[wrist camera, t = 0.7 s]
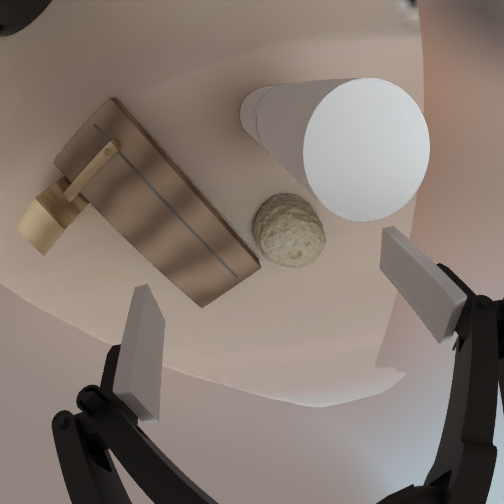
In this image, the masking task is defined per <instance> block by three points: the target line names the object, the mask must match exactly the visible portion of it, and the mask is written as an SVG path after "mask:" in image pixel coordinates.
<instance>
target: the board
mask: <svg viewBox="0 0 504 504" xmlns="http://www.w3.org/2000/svg"><path fill="white" fill-rule="evenodd" d="M113 139H114V140H115V141H116V142H117V143H118V144H119V145H120V147H121V149H120V150H119V151H118V152H117V153H116V154H115V155H114V156H113V157H112V158H111V159H110V160H109V161H108V162H107V163H106V164H105V165H104V166H103V167H102V168H101V169H100V170H99V171H98V172H97V173H96V174H95V176H94V177H93V178H92V179H91V180H90V181H89V182H88V183H87V184H86V185H85V187H84V188H83V189H82V190H81V191H80V193H81V194H82V195H83V196H84V197H85V198H86V199H87V200H88V201H89V202H90V203H91V204H92V205H93V206H94V207H95V208H96V210H97V211H98V212H99V213H100V214H101V215H102V216H103V217H104V218H105V219H106V220H107V221H108V222H109V223H110V224H111V225H112V226H113V227H114V228H115V229H116V230H117V231H118V232H119V233H120V234H121V235H122V236H123V237H124V238H125V239H126V240H127V241H128V242H129V243H130V244H132V245H133V246H134V247H135V248H136V249H137V250H138V251H139V252H140V253H141V254H142V255H143V256H144V257H145V258H146V259H147V260H148V261H149V262H150V263H152V264H153V265H154V266H155V267H156V268H157V269H158V270H159V271H160V272H161V273H162V274H163V275H165V276H166V277H167V278H168V279H169V280H170V281H171V282H172V283H173V284H175V285H176V286H177V287H178V288H179V289H180V290H181V291H182V292H184V293H185V294H186V295H187V296H188V297H189V298H190V299H192V300H193V301H194V302H195V303H196V304H197V305H199V306H200V307H201V308H203V307H205V306H206V305H208V304H209V303H211V302H212V301H214V300H215V299H217V298H218V297H220V296H221V295H222V294H224V293H225V292H227V291H228V290H230V289H231V288H233V287H234V286H236V285H237V284H239V283H240V282H241V281H243V280H244V279H246V278H247V277H249V276H250V275H252V274H253V273H255V272H256V271H257V270H259V269H260V268H261V266H260V263H259V260H258V258H257V257H256V256H255V255H254V253H253V252H252V251H251V250H250V249H249V248H248V247H247V245H246V244H245V243H244V242H243V241H242V240H241V239H240V238H239V236H238V235H237V234H236V233H235V232H234V231H233V230H232V228H231V227H230V226H229V225H228V224H227V223H226V222H225V221H224V219H223V218H222V217H221V216H220V215H219V214H218V213H217V211H216V210H215V209H214V208H213V207H212V206H211V205H210V204H209V202H208V201H207V200H206V199H205V198H204V197H203V196H202V194H201V193H200V192H199V191H198V190H197V189H196V188H195V187H194V185H193V184H192V183H191V182H190V181H189V180H188V179H187V177H186V176H185V175H184V174H183V173H182V172H181V171H180V170H179V168H178V167H177V166H176V165H175V164H174V163H173V162H172V161H171V159H170V158H169V157H168V156H167V155H166V154H165V153H164V151H163V150H162V149H161V148H160V147H159V146H158V145H157V144H156V142H155V141H154V140H153V139H152V138H151V137H150V136H149V134H148V133H147V132H146V131H145V130H144V129H143V128H142V127H141V125H140V124H139V123H138V122H137V121H136V120H135V119H134V117H133V116H132V115H131V114H130V113H129V112H128V111H127V110H126V108H125V107H124V106H123V105H122V104H121V103H120V102H119V100H118V99H117V98H110V99H109V100H107V101H106V102H105V103H104V104H103V105H102V106H101V108H100V109H99V110H98V111H97V112H96V113H95V114H94V115H93V116H92V117H91V118H90V119H89V120H88V121H87V122H86V123H85V124H84V126H83V127H82V128H81V129H80V130H79V131H78V132H77V133H76V135H75V136H74V137H73V138H72V139H71V140H70V142H69V143H68V144H67V145H66V146H65V147H64V149H63V150H62V151H61V152H60V154H59V155H58V156H57V157H56V159H55V160H54V161H53V163H54V164H55V165H56V166H57V167H58V169H59V170H60V171H61V172H62V173H63V174H64V175H65V176H66V177H67V179H68V180H69V181H70V182H71V183H73V181H74V180H75V179H76V178H77V177H78V175H79V174H80V173H81V172H82V171H83V170H84V169H85V168H86V166H87V165H88V164H89V163H90V162H91V161H92V160H93V159H94V158H95V157H96V155H97V154H98V153H99V152H100V151H101V150H102V149H103V148H104V147H105V146H106V145H107V144H108V143H109V142H110V141H111V140H113Z"/></svg>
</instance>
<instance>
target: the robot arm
mask: <svg viewBox="0 0 504 504" xmlns="http://www.w3.org/2000/svg"><path fill="white" fill-rule="evenodd" d="M50 1H51V0H0V36H8V35H11V34H14V33H16V32H18V31H20V30H21V29H23V28H24V27H26V26H27V25H28V24H30V23H31V22H32V21H33V20H34V19H35V18H36V17H37V16H38V15H39V14H40V13H41V12H42V11H43V10H44V9H45V8H46V7H47V5H48V4H49V3H50ZM380 269H381V271H382V272H383V273H384V274H385V275H386V277H387V278H388V279H389V280H390V281H391V283H392V284H393V285H394V286H395V287H396V289H397V290H398V291H399V292H400V293H401V295H402V296H403V297H404V298H405V300H406V301H407V302H408V303H409V305H410V306H411V307H412V308H413V310H414V311H415V312H416V314H417V315H418V316H419V318H420V319H421V320H422V321H423V323H424V324H425V325H426V326H427V328H428V329H429V331H430V332H431V333H432V335H433V336H434V337H435V339H436V340H437V342H438V343H439V344H442V343H444V342H446V341H448V340H450V339H451V338H452V336H453V333H454V331H456V332H457V334H458V337H457V340H456V342H455V344H454V346H453V349H452V350H455V347H456V355H455V364H454V372H453V380H452V387H451V393H450V399H449V405H448V409H447V415H446V419H445V424H444V428H443V433H442V437H441V441H440V445H439V448H438V452H437V455H436V459H435V462H434V464H433V466H432V468H431V470H430V471H429V473H428V475H427V477H426V480H425V483H424V485H423V486H416V487H414V485H413V484H412V485H410V486H408V487H406V488H404V489H402V490H400V491H398V492H395V493H393V494H391V495H388V496H387V497H385V498H384V499H382V500H381V501H379V502H378V503H376V504H485V503H486V500H487V497H488V493H489V489H490V485H491V481H492V477H493V473H494V468H495V462H496V458H497V447H496V446H494V445H493V434H494V427H495V419H496V408H497V395H498V381H499V387H500V392H501V398H502V405H503V412H504V298H503V300H498V301H492V300H491V299H490V298H489V297H487V296H484V295H476V294H475V293H474V292H473V291H472V290H471V289H470V288H469V287H468V286H467V285H466V284H465V283H464V282H463V281H462V280H461V279H459V277H458V276H456V275H455V274H454V273H453V271H451V270H450V269H449V268H448V267H446V266H444V265H443V264H441V263H439V264H435V263H434V262H433V261H432V260H430V259H429V258H428V257H427V256H426V255H425V254H424V253H423V252H422V251H421V250H420V249H419V248H418V247H416V246H415V245H414V244H413V243H412V242H411V241H410V240H409V239H408V238H406V237H405V236H404V235H403V234H402V233H401V232H400V231H398V230H397V229H396V228H395V227H394V226H391V227H387V228H383V229H382V244H381V258H380ZM164 332H165V319H164V317H163V315H162V313H161V311H160V309H159V307H158V305H157V303H156V301H155V298H154V296H153V294H152V292H151V290H150V288H149V286H148V284H147V285H142V286H138V287H135V289H134V293H133V297H132V301H131V305H130V309H129V313H128V317H127V321H126V326H125V330H124V334H123V339H122V343H121V344H120V345H114V346H112V347H111V349H110V351H109V352H108V354H107V357H106V361H105V366H104V372H103V375H102V380H101V385H100V387H99V386H97V385H88V386H86V387H84V388H83V389H82V390H81V391H80V392H79V394H78V396H77V400H76V403H77V407H78V408H79V409H80V410H81V411H83V412H81V413H78V414H76V415H73V414H72V413H71V412H69V411H66V410H63V411H60V412H58V413H57V414H56V415H55V416H54V418H53V420H52V431H53V436H54V441H55V445H56V450H57V454H58V458H59V462H60V466H61V470H62V474H63V477H64V481H65V484H66V487H67V490H68V493H69V496H70V499H71V502H72V504H132V503H131V501H130V499H129V497H128V495H127V493H126V490H125V488H124V486H123V484H122V482H121V479H120V477H119V475H118V473H117V470H116V468H115V466H114V463H113V461H112V458H111V456H110V453H109V451H108V449H110V450H111V451H112V452H113V454H114V455H115V456H116V458H117V459H118V460H119V462H120V463H121V464H122V466H123V467H124V468H125V469H126V471H127V472H128V473H129V474H130V476H131V477H132V478H133V479H134V481H135V482H136V483H137V484H138V485H139V487H140V488H141V489H142V490H143V491H144V492H145V493H146V495H147V496H148V497H149V498H150V499H151V500H152V501H153V502H154V503H155V504H218V503H217V502H216V501H215V500H214V499H212V498H211V497H210V496H209V495H207V494H206V493H205V492H204V491H203V490H201V489H200V488H199V487H198V486H197V485H195V483H194V482H193V481H191V480H190V479H189V478H188V477H187V476H186V475H185V474H184V473H183V472H182V471H181V470H180V469H179V468H178V467H177V466H175V464H174V463H173V462H171V460H169V459H168V457H166V455H165V454H164V453H163V452H162V451H161V450H160V449H159V448H158V447H157V446H156V445H155V444H154V443H153V442H152V441H151V440H150V438H149V437H148V436H147V435H146V434H145V433H144V432H143V431H142V430H141V428H140V427H139V426H138V425H137V424H138V418H139V419H140V420H141V421H142V422H143V423H156V422H159V411H160V387H161V370H162V356H163V344H164Z"/></svg>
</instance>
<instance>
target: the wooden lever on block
mask: <svg viewBox="0 0 504 504" xmlns="http://www.w3.org/2000/svg"><path fill="white" fill-rule="evenodd" d="M120 149H121V147H120V145H119V144H118V143H117V142H116V141H115V140H114V139H113V140H111V141H110V142H109V143H108V144H107V145H106V146H105V147H104V148H103V149H102V150H101V151H100V152H99V153H98V154H97V155H96V157H95V158H94V159H93V160H92V161H91V162H90V163H89V164H88V165H87V166H86V168H85V169H84V170H83V171H82V172H81V173H80V174H79V175H78V177H77V178H76V179H75V180H74V181H73V183H71V182H70V181H69V180H68V179H67V177H66V176H64V177H63V178H62V179H60V180H59V181H57V182H56V183H55V184H53V185H52V186H50V187H49V188H48V189H46V190H45V191H44V192H42V193H41V194H40V195H38V196H37V197H36V198H35V199H34V200H33V202H32V203H31V205H30V206H29V208H28V209H27V211H26V212H25V214H24V215H23V217H22V218H21V220H20V222H19V223H18V225H17V226H16V228H17V229H18V230H19V231H20V232H21V233H22V234H23V235H24V236H25V238H26V239H27V240H28V241H29V242H30V243H31V244H32V245H33V246H34V247H35V248H36V249H37V250H38V251H39V252H40V253H41V254H42V255H43V256H44V255H45V254H46V253H47V251H48V250H49V249H50V248H51V246H52V245H53V244H54V243H55V241H56V240H57V239H58V238H59V237H60V235H61V234H62V233H63V232H64V231H65V229H66V228H67V227H68V226H69V225H70V224H71V222H72V221H73V220H74V219H75V218H76V217H77V216H78V214H79V213H80V212H81V211H82V210H83V209H84V208H85V206H86V205H87V204H88V203H89V201H88V200H87V199H86V198H85V197H84V196H83V195H82V194H81V193H80V191H81V190H82V189H83V188H84V187H85V185H86V184H87V183H88V182H89V181H90V180H91V179H92V178H93V177H94V176H95V174H96V173H97V172H98V171H99V170H100V169H101V168H102V167H103V166H104V165H105V164H106V163H107V162H108V161H109V160H110V159H111V158H112V157H113V156H114V155H115V154H116V153H117V152H118V151H119V150H120Z"/></svg>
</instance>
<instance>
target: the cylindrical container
mask: <svg viewBox="0 0 504 504" xmlns="http://www.w3.org/2000/svg"><path fill="white" fill-rule="evenodd" d="M240 121H241V124H242V127H243V128H244V130H245V131H246V132H247V133H248V134H249V135H250V136H251V137H252V138H253V139H254V140H255V141H257V142H258V143H259V144H260V145H261V146H262V147H263V148H264V149H265V150H266V151H268V152H269V153H270V154H271V155H272V156H273V157H274V158H275V159H276V160H277V161H278V162H280V163H281V164H282V165H283V166H284V167H285V168H286V169H287V170H288V171H289V172H290V173H291V174H292V175H293V176H294V177H295V178H296V179H297V180H299V181H300V182H301V183H302V184H303V185H304V186H305V187H306V188H307V189H308V190H309V191H310V192H311V193H312V194H313V195H314V196H315V197H316V198H317V199H318V200H319V201H320V202H321V203H322V204H323V205H324V206H325V207H326V208H327V209H329V210H330V211H331V212H332V213H334V214H336V215H338V216H340V217H342V218H344V219H347V220H352V221H356V222H369V221H375V220H379V219H382V218H384V217H387V216H389V215H391V214H393V213H394V212H396V211H398V210H399V209H400V208H402V207H403V206H404V205H405V204H406V203H407V202H408V201H409V200H410V199H411V198H412V196H413V195H414V194H415V192H416V191H417V190H418V188H419V186H420V184H421V182H422V180H423V178H424V175H425V172H426V169H427V165H428V160H429V152H430V150H429V149H430V142H429V134H428V129H427V125H426V122H425V119H424V117H423V115H422V113H421V111H420V109H419V107H418V106H417V104H416V103H415V102H414V101H413V99H412V98H411V97H410V96H409V95H408V94H407V93H406V92H405V91H403V90H402V89H401V88H400V87H398V86H396V85H394V84H392V83H390V82H388V81H384V80H380V79H375V78H350V79H332V80H319V81H309V82H299V83H291V84H283V85H276V86H270V87H263V88H259V89H256V90H254V91H253V92H251V93H250V94H249V95H247V97H246V98H245V99H244V100H243V103H242V105H241V108H240Z"/></svg>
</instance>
